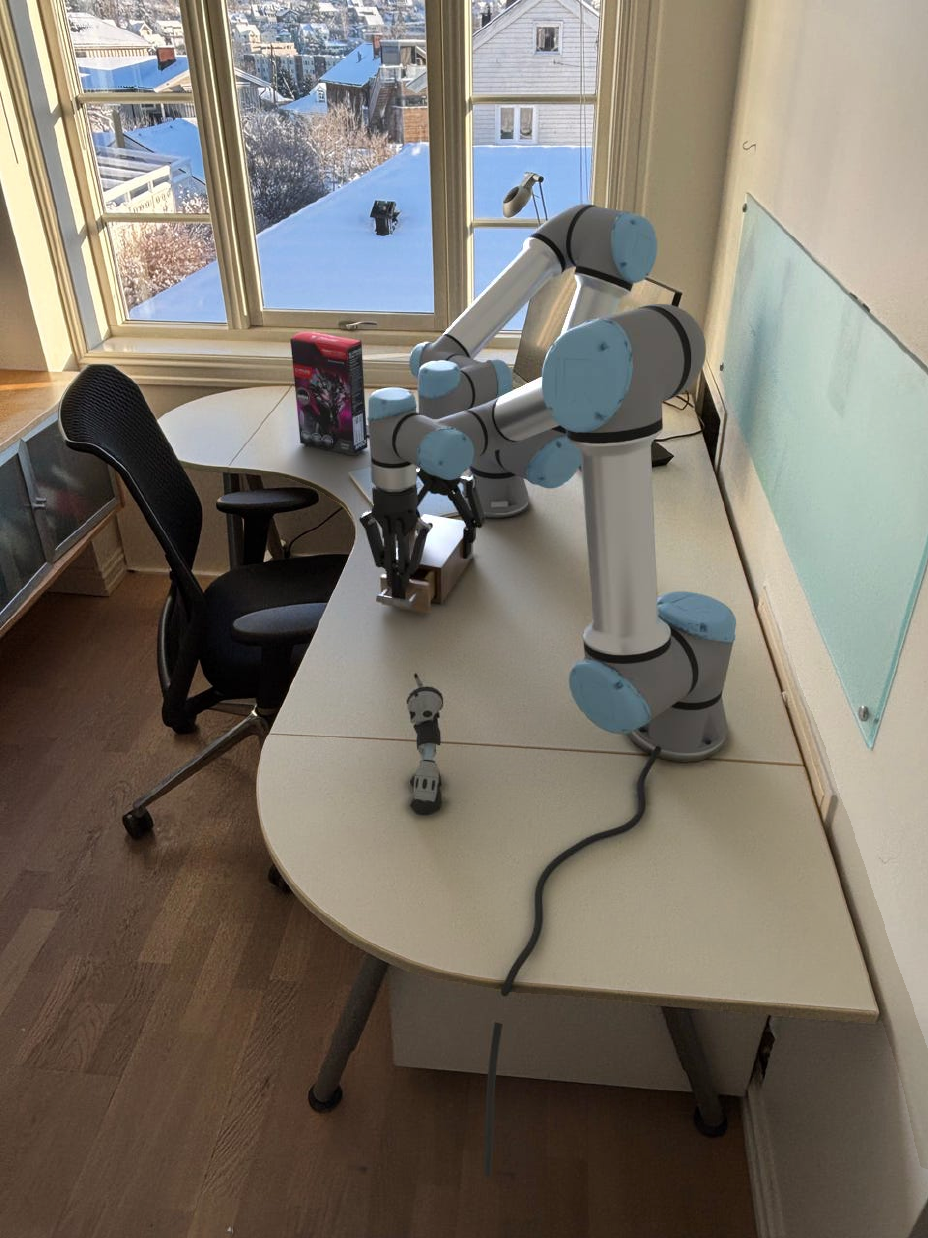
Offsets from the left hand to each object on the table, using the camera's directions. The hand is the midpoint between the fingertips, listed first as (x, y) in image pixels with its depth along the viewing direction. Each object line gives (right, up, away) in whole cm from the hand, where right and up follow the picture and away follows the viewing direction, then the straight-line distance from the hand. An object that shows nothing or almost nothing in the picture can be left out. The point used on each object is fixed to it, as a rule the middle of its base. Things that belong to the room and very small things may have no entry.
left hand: (440, 550), depth 183 cm
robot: (-1, -39, -52) cm, 65 cm away
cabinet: (-1, -5, -2) cm, 5 cm away
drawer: (-4, -9, -9) cm, 13 cm away
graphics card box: (-28, +30, +50) cm, 64 cm away
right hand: (-7, -10, -18) cm, 22 cm away
